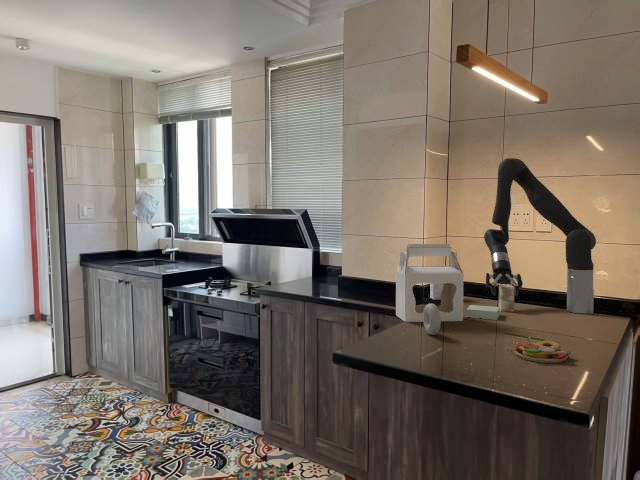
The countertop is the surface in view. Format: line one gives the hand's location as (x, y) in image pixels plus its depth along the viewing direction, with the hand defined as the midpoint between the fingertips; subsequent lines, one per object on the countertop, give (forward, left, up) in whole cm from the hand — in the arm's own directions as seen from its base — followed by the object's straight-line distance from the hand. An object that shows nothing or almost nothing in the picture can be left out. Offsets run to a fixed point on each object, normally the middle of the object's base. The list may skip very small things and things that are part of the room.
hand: (505, 294), depth 196 cm
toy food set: (-14, +71, -7) cm, 73 cm away
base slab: (+7, +18, -7) cm, 20 cm away
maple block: (0, +1, -6) cm, 6 cm away
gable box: (+25, +31, -7) cm, 40 cm away
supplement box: (+31, -20, -7) cm, 37 cm away
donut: (+18, +58, -7) cm, 61 cm away
